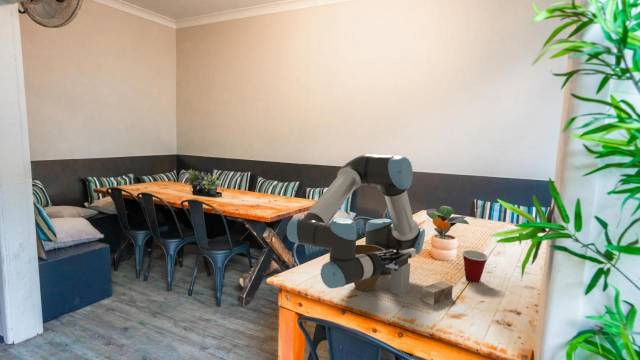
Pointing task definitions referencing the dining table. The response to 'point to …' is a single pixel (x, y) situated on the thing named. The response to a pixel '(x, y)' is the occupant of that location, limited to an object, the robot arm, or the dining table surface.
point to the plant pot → (371, 282)
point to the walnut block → (437, 292)
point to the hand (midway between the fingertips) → (413, 252)
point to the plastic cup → (474, 265)
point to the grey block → (400, 280)
